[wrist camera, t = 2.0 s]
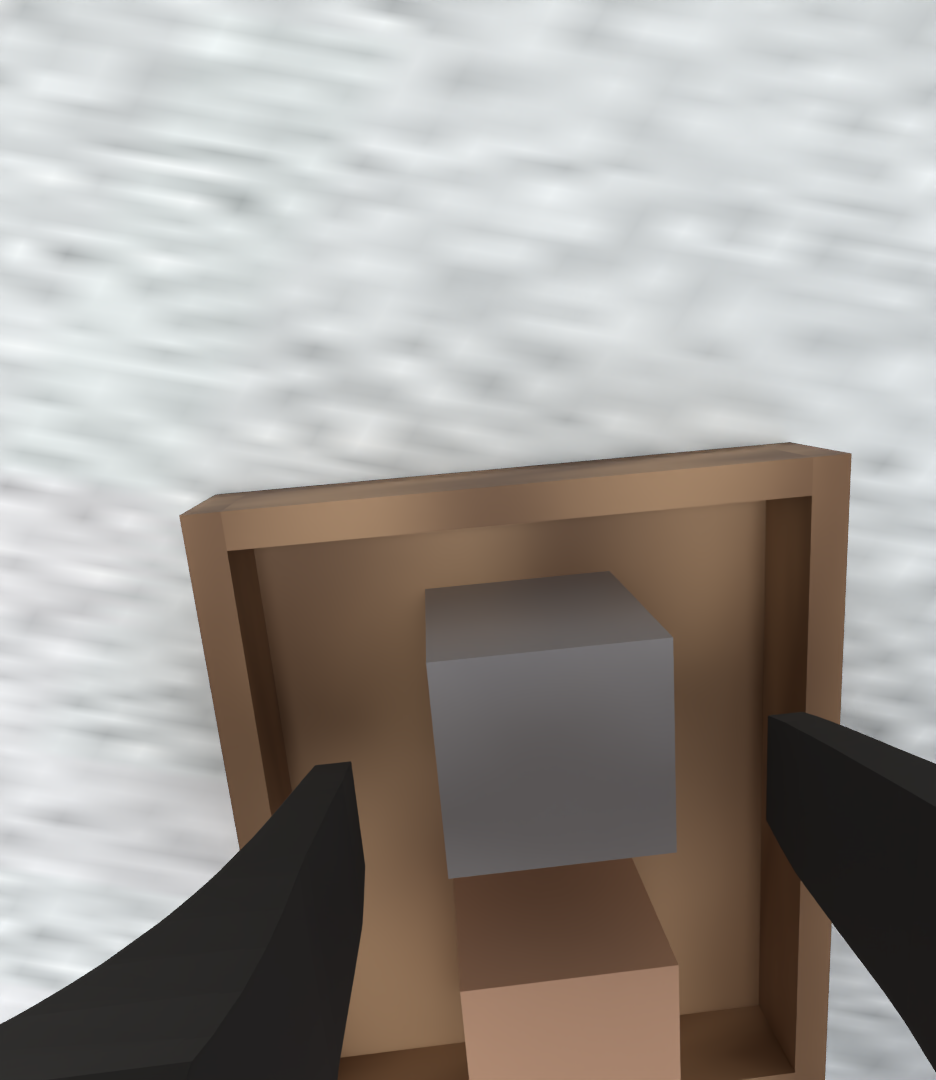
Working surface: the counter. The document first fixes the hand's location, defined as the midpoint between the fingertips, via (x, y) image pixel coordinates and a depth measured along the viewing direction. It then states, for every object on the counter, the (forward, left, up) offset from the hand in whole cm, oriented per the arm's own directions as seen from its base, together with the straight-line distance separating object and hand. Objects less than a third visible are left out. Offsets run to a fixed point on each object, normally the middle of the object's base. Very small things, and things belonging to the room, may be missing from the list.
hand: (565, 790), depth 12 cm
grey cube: (0, 0, -5) cm, 5 cm away
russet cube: (0, +7, -5) cm, 9 cm away
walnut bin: (0, +4, -6) cm, 7 cm away
